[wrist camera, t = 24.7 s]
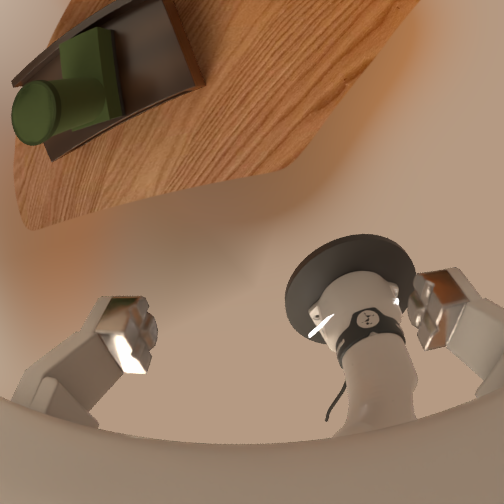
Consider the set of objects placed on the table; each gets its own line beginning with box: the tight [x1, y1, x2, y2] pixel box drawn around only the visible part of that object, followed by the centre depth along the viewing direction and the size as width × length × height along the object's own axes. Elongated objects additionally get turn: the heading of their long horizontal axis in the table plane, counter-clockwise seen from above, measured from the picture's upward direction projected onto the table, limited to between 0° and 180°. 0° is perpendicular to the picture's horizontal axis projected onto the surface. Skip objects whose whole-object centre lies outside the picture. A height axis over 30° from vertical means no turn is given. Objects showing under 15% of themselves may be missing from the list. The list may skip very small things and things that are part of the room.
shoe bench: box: [11, 0, 206, 162], centre depth 28 cm, size 14×22×9 cm, turn 108°
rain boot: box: [11, 27, 126, 146], centre depth 20 cm, size 11×6×13 cm, turn 6°
